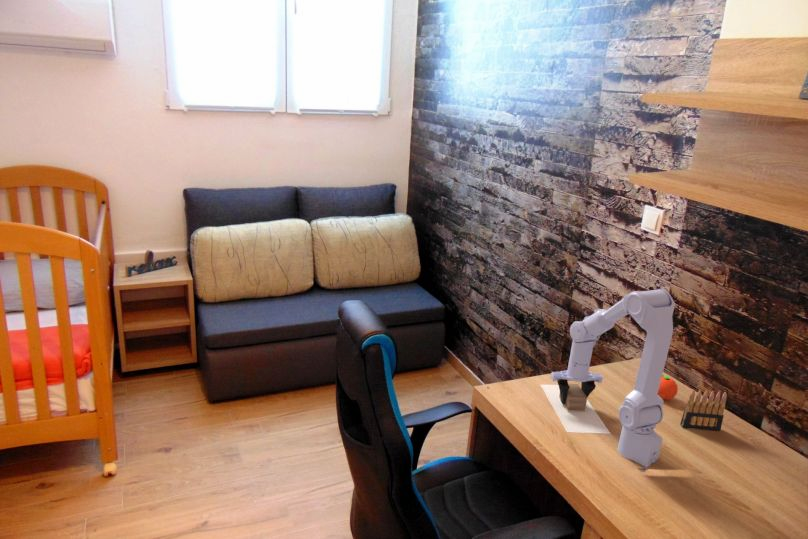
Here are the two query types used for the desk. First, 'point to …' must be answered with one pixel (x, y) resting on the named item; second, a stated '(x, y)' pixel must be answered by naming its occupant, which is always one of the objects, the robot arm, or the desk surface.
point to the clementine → (667, 388)
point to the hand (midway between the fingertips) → (572, 402)
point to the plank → (575, 414)
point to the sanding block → (575, 399)
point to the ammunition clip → (704, 412)
